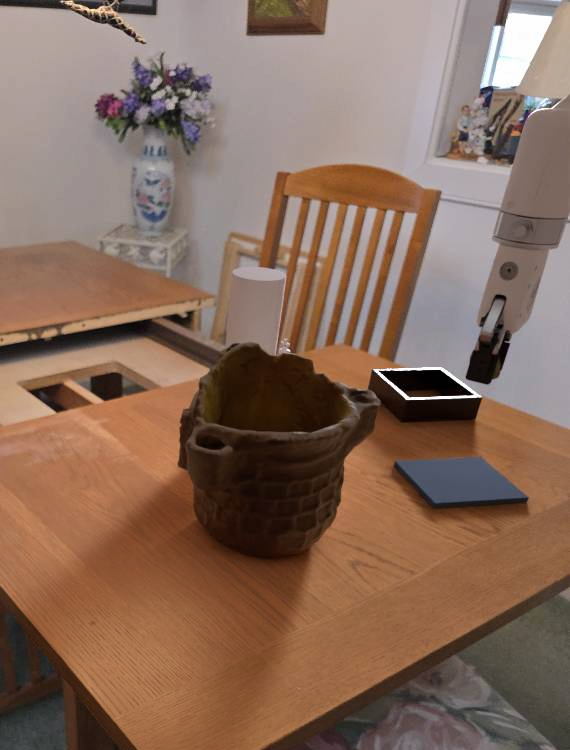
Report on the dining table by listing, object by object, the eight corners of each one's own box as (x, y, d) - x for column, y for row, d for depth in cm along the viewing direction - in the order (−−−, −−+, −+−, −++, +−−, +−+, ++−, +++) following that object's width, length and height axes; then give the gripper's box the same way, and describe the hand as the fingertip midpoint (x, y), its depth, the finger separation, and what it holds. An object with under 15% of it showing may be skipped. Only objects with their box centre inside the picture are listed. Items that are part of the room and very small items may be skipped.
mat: (479, 461, 106) (481, 456, 106) (527, 502, 96) (529, 497, 96) (393, 465, 104) (394, 460, 103) (433, 508, 94) (435, 503, 93)
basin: (436, 388, 130) (441, 367, 128) (475, 419, 119) (482, 397, 117) (367, 390, 127) (371, 369, 125) (401, 422, 116) (407, 399, 114)
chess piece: (279, 402, 121) (288, 345, 115) (258, 393, 124) (265, 337, 118) (297, 396, 124) (306, 340, 118) (276, 387, 127) (284, 332, 121)
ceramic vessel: (388, 570, 67) (259, 339, 62) (201, 622, 83) (84, 441, 78) (434, 470, 84) (335, 280, 78) (270, 529, 100) (178, 374, 94)
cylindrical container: (206, 442, 107) (221, 271, 93) (237, 429, 111) (255, 264, 97) (242, 459, 103) (263, 283, 89) (272, 445, 107) (297, 275, 93)
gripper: (548, 246, 77) (496, 402, 87) (574, 225, 88) (526, 364, 99) (477, 235, 80) (436, 387, 90) (511, 216, 92) (471, 352, 102)
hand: (483, 374), depth 94 cm, fingers closed on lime, 4 cm apart
